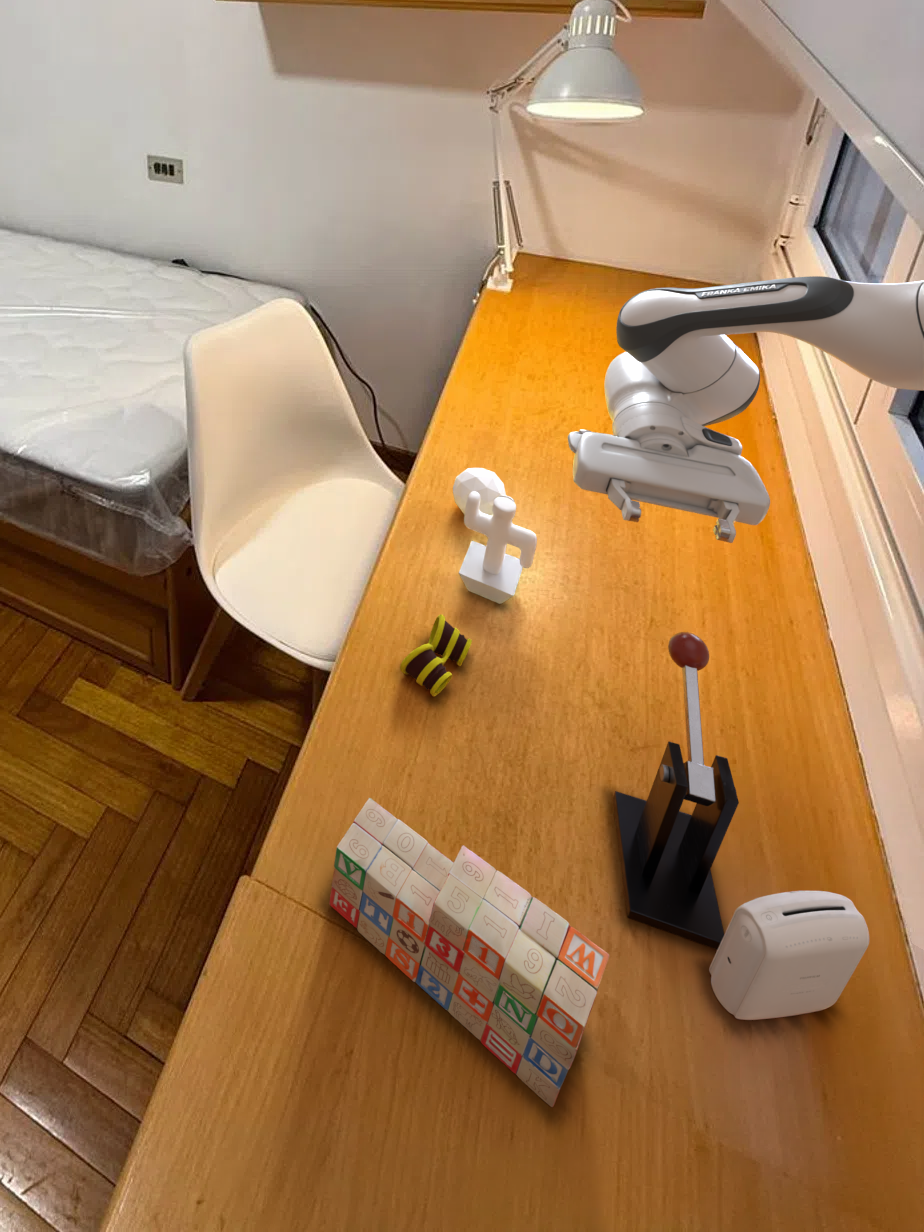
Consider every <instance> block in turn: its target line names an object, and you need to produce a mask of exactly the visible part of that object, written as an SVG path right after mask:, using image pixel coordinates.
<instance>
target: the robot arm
mask: <svg viewBox="0 0 924 1232" xmlns="http://www.w3.org/2000/svg"><path fill="white" fill-rule="evenodd" d="M616 319H617V320H616V334H615V335H616V342H617V344H618V346H619V348H621V350H623V351H624V352H621V353H620V354H618V355H616V357H615V358H614V359H612V360H611V362H610V363H609V365H608V367H607V368H606V372H605V376H604V383H603V384H604V385H603V386H604V387H603V389H604V397H605V404H606V409H607V412H608V415H609V418H610V420H611V422H612V423H611V424H612V425H611V426H612V427H611V428H612V429H611V430H612V434H609V433H604V432H596V431H591V430H590V429H589V430H588V429H579V430H578V431H571V432H569V434H568V435H567V443H568V448H569V450H570V451H571V452H572V453H574V456H573V461H572V480H573V483H574V484H575V485H576V486H577V487H578V488H579V489H581V490H584V491H587V492H592V493H597V494H603V495H606V496H607V498H608V500H609V501H610V502H611V503H612V504H614V506H615V507H616V508H618V510H620V512H621V516H622V520H623V521H627V522H632V523H637V524H638V523H639V522H640V518H641V517H642V509H641V503H646V504H651V505H655V506H658V507H659V506H660V507H665V508H669V509H674V510H678V511H679V510H680V511H684V512H687V513H694V514H698V515H703V516H708V517H713V518H717V520H716V522H715V525H714V526H713V529H712V531H713V534H714V535H715V540H716V541H721V542H725V543H728V544H729V543H730V544H733V542H734V541H735V538H736V536H737V530H736V527H735V523H740V524H744V525H745V524H746V525H750V526H758V525H759V524H760V523H762V521H764V519H765V518H766V517H767V516H766V515H767V514H768V512H769V509H770V506H771V497H770V494H769V492H768V491H767V488H766V486H765V484H764V482H763V480H762V478H761V476H760V474H759V472H758V471H757V469H756V468H755V466H754V465H753V464H752V463H751V462H750V461H749V460H748V459H746V458H745V457H743V456H742V452H743V445H742V443H741V442H740V440H739V439H737V438H735V437H732V436H730V435H727V434H725V433H722V432H719V431H717V430H713V429H711V428H709V427H707V426H711V425H712V426H713V425H716V424H720V423H722V422H726V421H728V420H730V419H732V418H735V417H736V416H738V415H740V414H741V413H743V412H745V411H746V410H747V408H748V407H750V405H751V404H752V402H753V401H754V400H755V397H756V395H757V393H758V391H759V387H760V385H761V384H760V383H761V372H760V369H759V367H758V366H757V364H756V363H754V362H753V361H752V360H751V358H749V356H748V355H747V354H746V353H744V351H743V350H742V349H741V348H740V347H739V346H738V345H737V344H736V343H735V342H734V341H733V340H731V339H730V338H729V337H728V336H727V335H742V334H755V333H774V334H780V335H784V336H787V337H790V338H793V339H796V340H799V341H801V342H803V343H806V344H808V345H810V346H812V347H814V348H816V349H819V350H820V351H822V352H824V353H826V354H827V355H830V356H831V357H833V358H834V359H836V360H838V361H840V362H841V363H843V364H845V365H846V366H848V367H849V368H851V369H852V370H854V371H856V372H858V373H859V374H860V375H862V376H864V377H866V378H867V379H870V380H872V381H874V382H877V383H879V384H881V385H884V386H886V387H890V388H893V389H899V390H900V389H901V390H910V391H924V280H917V281H909V282H898V283H895V282H894V283H873V282H871V283H870V282H869V283H868V282H855V281H849V280H848V281H847V280H843V279H840V278H833V277H829V276H820V275H819V276H818V275H815V276H814V275H812V276H796V277H785V278H777V279H768V280H760V281H759V280H758V281H751V282H741V283H734V284H732V283H731V284H724V285H716V286H709V287H708V286H707V287H698V288H696V287H695V288H686V287H685V288H684V287H656V288H650V289H647V290H644V291H641V292H639V293H637V294H635V295H634V296H632V297H631V298H629V299H628V300H627V301H626V302H625V303H624V304H623V305H622V306H621V308H620V310H619V313H618V315H617V318H616ZM640 502H641V503H640Z"/></svg>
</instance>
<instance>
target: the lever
mask: <svg viewBox="0 0 924 1232" xmlns="http://www.w3.org/2000/svg"><path fill="white" fill-rule="evenodd" d="M667 650H668V654H669V656H670V658H671V660H672V661H673V662H674V664H675V665H677V666H678V667H679V668H681V669H682V671H681V672H682V684H683V686H682V687H683V701H684V717H685V733H686V734H685V735H686V749H687V760H686V761H685V762H683V763H684V768H685V773H686V778H687V782H688V790H687V792H686V795H685V798H684V800H685V801H689V802H691V803H695V804H696V803H697V804H701V805H704V806H709V805H711V804H713V803H715V802H716V794H715V781H714V769H713V768H711V766H707V765H705V758H704V744H703V731H702V718H701V716H702V715H701V703H700V689H699V674H698V671H701V670H703V669H704V668H706V667H707V665H708V664H709V661H710V652H709V651H710V650H709V648H708V646H707V644H706V643H705V642H704V640H703V639H702V638H701V637H700V636H697V635H696V634H694V633H692V632H688V631H681V632H680V631H679V632H677V633H675V634H673V635H672V636H671V637H670V639H669V641H668V644H667Z"/></svg>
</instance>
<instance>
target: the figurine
mask: <svg viewBox="0 0 924 1232" xmlns="http://www.w3.org/2000/svg"><path fill="white" fill-rule="evenodd" d="M480 499H481V497H480V494H479V493H478V492H475V491H473V492H471V493H470V494H469V496H468V499H467V504H466V509H465V515H464V514H463V524H464V526H465V527H466V528H467V529H469V530H471V531H474V532H476V533H479V534H481V535H483V536H486V537H487V540H486V545H485V544H482V543H481V542H477V541H475V540H471V541H470V544H469V546H468V549H467V551H466V554H465V556H464V558H463V560H462V563H461V566H460V568H459V571H458V575H459V577H460V579H461V580H462V582H463V584H464V586H465V588H466V590H467V591H468V592H471V593H473V594H475V595H477V596H479V597H482V598H485V599H487V600H490V601H492V602H494V603H496V604H499V605H501V604H503V603H505V602H506V601H508V600H509V599H511V598H512V597H514V596H515V593H516V590H517V587H518V585H519V581H520V579H521V574H522V571H523V569H530V568H531V567H532V565H533V562H534V559H535V554H536V550H537V546H538V537H537V534H536V533H535V532H534V531H532V530H531V529H527V528H525V527H523V526H520V525H516V524H514V523H513V519H514V518H515V517H516V511H517V504H516V502H515V499H514V498H513V497H511V496H509V495H507V494H506V495H500V496H499V497H497V498H496V499H495V500H494V503H493V508H492V511H493V515H487V514H485V513H482V512H481V511H480V510H479V505H480ZM508 545H511V546H512V547H516V548H518V549H519V550H520V554H519V555H520V556H519V558H518V557H516V556H513V555H512V554H508V553H506V551H507V546H508Z"/></svg>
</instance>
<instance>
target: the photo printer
mask: <svg viewBox="0 0 924 1232" xmlns="http://www.w3.org/2000/svg"><path fill="white" fill-rule="evenodd" d="M869 945H870V932H869V928H868V925H867V922H866V919H865V917H864V916H863V915H862V914H861V912H859V910H858V909H857V908H856V906H855V904H854V902H853V901H852V900H851V899H850V898H848V897H847V896H845V895H843V894H839V893H837V892H831V891H823V890H792V891H785V892H777V893H773V894H767V895H763V896H760V897H756V898H754V899H751V900H749V901H746V902H744V903H743V904H741V905H740V906H738V907H736V909H735V910H734V912H733V915H732V917H731V920H730V921H729V923H728V926H727V928H726V930H725V931H724V937H723V939H722V941H721V943H720V946H719V948H718V950H716V953H715V954H714V957H713V959H712V961H711V963H710V965H709V968H708V971H709V974H710V975H711V977H710V985H711V988H712V991H713V993H714V995H715V998H716V999H717V1000H718V1002H719V1003H720V1004H721V1006H722V1007H723V1008H724V1009H725V1010H726V1011H727V1012H728V1013H729V1014H731V1015H733V1016H734V1018H735V1019H737V1020H742V1021H743V1020H745V1021H752V1020H753V1021H756V1020H766V1019H775V1018H776V1019H777V1018H783V1017H784V1018H785V1017H792V1016H798V1015H804V1014H811V1013H814V1012H820V1011H823V1010H826V1009H828V1008H830V1007H832V1006H833V1005H835V1004H836V1002H837V1001H838V1000H839V998H840V996H841V995H842V993H843V992H844V989H845V987H847V985H848V983H849V981H850V979H851V977H852V975H853V974H854V972H855V971H856V969H857V967H858V965H859V964H860V962H861V960H862V958H863V957H864V954H865V953H866V951H867V949H868V947H869Z"/></svg>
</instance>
